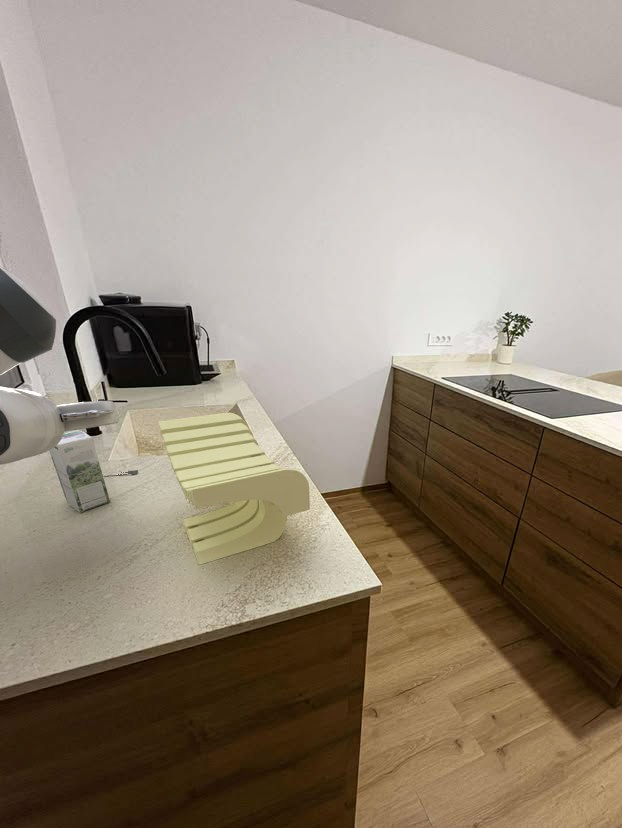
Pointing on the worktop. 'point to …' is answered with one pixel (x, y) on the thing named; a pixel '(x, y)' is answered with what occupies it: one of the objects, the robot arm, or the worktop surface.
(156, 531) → the worktop surface
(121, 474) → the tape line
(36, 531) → the worktop surface
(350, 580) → the worktop surface
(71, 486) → the syrup box
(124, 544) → the worktop surface
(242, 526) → the slatted curved stool
